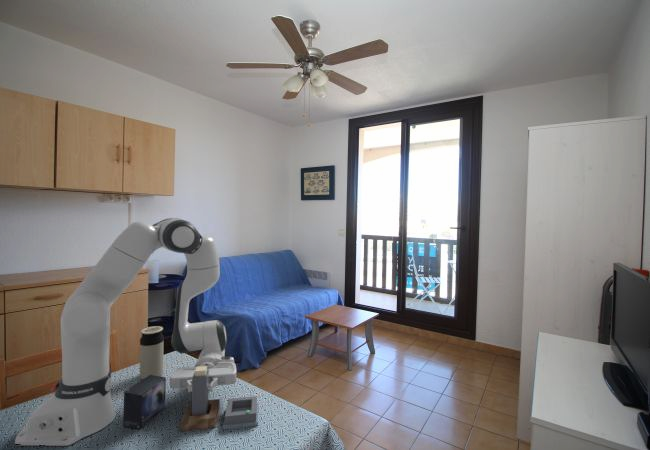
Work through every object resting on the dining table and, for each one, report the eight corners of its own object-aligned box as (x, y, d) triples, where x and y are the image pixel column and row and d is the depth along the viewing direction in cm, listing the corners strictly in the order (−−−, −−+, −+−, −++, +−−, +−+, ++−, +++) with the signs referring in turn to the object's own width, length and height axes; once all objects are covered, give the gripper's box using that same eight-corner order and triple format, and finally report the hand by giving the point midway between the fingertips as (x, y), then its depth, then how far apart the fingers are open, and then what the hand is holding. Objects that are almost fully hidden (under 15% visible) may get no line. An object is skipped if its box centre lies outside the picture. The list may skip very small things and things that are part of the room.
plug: (191, 417, 91) (192, 372, 91) (194, 409, 95) (195, 365, 95) (205, 415, 92) (206, 371, 92) (208, 407, 96) (209, 365, 96)
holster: (180, 431, 88) (180, 421, 88) (188, 411, 97) (188, 402, 97) (215, 427, 90) (215, 417, 90) (219, 408, 99) (219, 399, 99)
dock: (222, 429, 89) (222, 416, 89) (226, 408, 99) (226, 396, 99) (257, 425, 91) (258, 412, 91) (258, 405, 101) (258, 393, 101)
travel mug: (167, 373, 121) (167, 328, 120) (147, 382, 114) (147, 334, 114) (156, 368, 125) (156, 324, 125) (135, 376, 118) (135, 330, 118)
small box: (140, 430, 88) (141, 394, 88) (121, 427, 90) (122, 391, 90) (166, 408, 99) (167, 376, 99) (149, 405, 100) (149, 374, 100)
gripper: (175, 360, 104) (163, 381, 90) (238, 357, 108) (234, 376, 95) (175, 379, 104) (162, 403, 91) (237, 374, 108) (234, 396, 95)
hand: (200, 389), depth 93 cm, fingers closed on plug, 4 cm apart
